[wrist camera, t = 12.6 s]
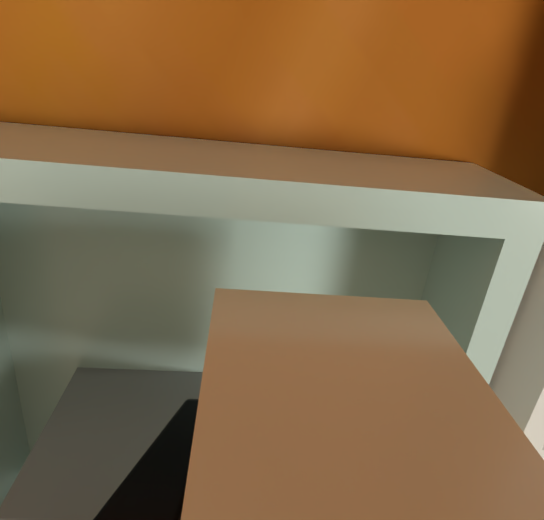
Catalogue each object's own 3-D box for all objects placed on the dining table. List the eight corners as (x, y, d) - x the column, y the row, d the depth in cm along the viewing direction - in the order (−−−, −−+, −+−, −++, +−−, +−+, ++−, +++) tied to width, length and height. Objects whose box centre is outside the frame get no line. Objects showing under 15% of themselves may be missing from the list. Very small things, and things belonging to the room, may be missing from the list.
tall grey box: (205, 477, 15) (188, 642, 11) (90, 475, 15) (26, 643, 10) (209, 372, 13) (190, 522, 9) (77, 367, 13) (-8, 519, 8)
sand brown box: (379, 475, 10) (475, 787, 6) (207, 470, 9) (174, 798, 5) (427, 300, 8) (625, 573, 4) (215, 288, 8) (172, 571, 3)
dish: (377, 497, 17) (406, 599, 14) (28, 490, 16) (-28, 598, 13) (473, 162, 11) (558, 203, 8) (-49, 117, 10) (-178, 144, 7)
